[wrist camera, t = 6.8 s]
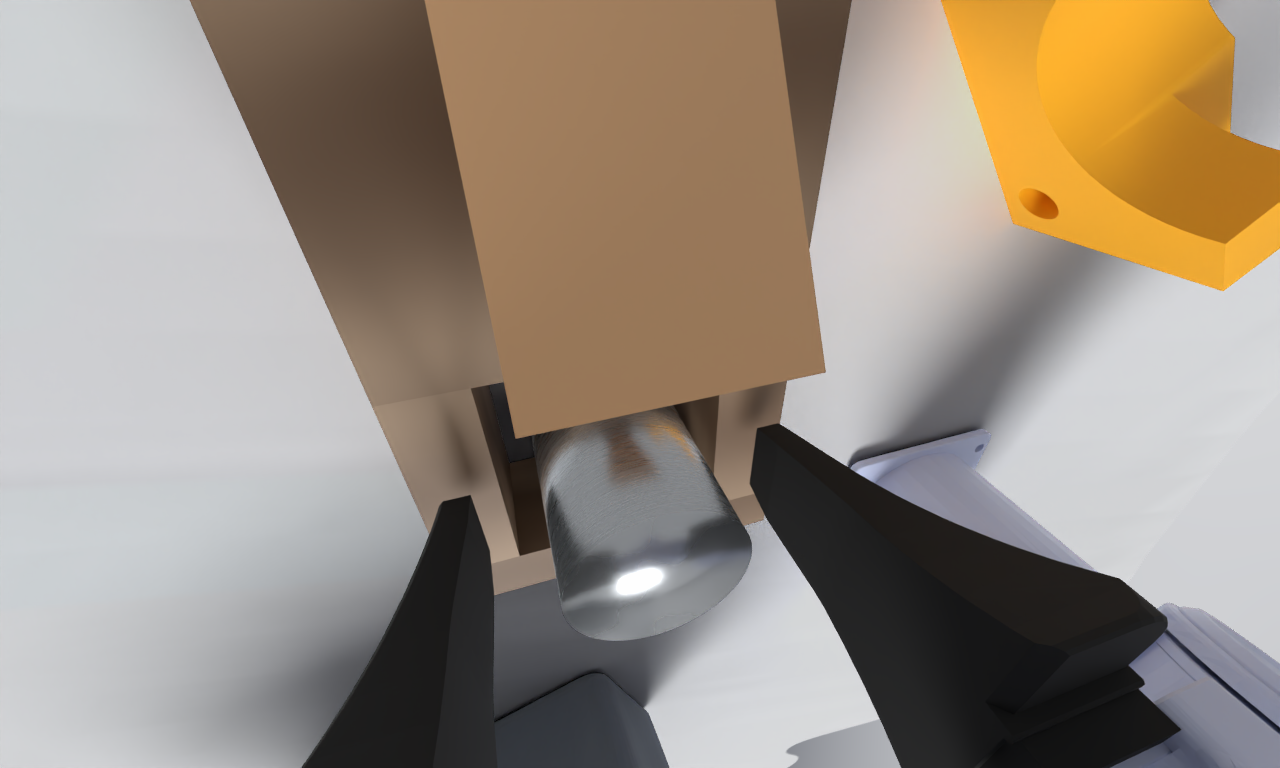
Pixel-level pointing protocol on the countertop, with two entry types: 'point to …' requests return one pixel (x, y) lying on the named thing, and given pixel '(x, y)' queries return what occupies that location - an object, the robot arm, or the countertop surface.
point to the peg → (636, 525)
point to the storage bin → (580, 730)
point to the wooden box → (448, 241)
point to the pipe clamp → (1121, 130)
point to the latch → (630, 200)
